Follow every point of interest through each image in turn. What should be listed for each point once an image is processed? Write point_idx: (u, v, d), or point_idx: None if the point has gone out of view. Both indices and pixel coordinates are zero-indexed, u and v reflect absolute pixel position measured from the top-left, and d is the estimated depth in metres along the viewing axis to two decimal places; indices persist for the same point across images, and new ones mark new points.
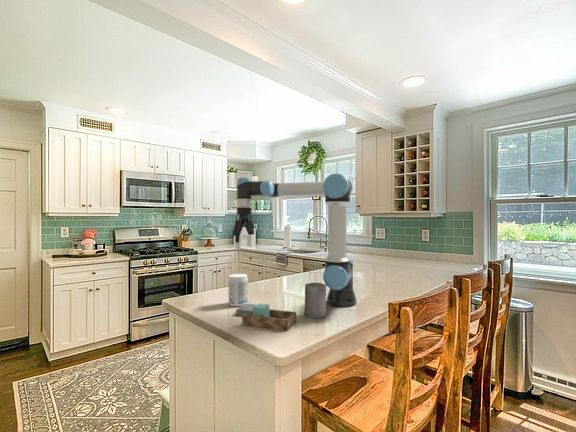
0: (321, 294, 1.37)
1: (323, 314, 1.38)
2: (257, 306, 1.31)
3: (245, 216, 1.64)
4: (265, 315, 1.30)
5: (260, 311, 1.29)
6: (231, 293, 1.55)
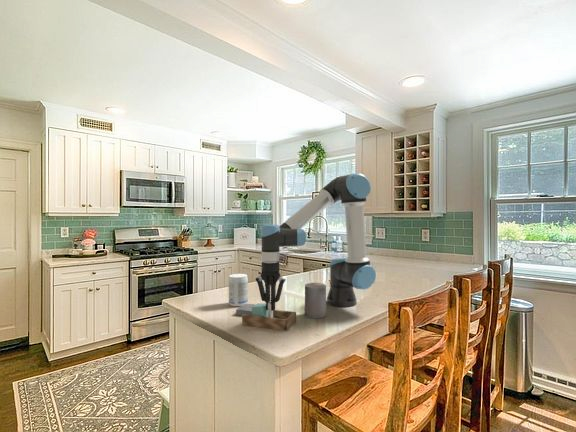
0: (321, 294, 1.37)
1: (323, 314, 1.38)
2: (256, 306, 1.31)
3: (268, 273, 1.30)
4: (264, 314, 1.30)
5: (259, 311, 1.29)
6: (231, 293, 1.55)
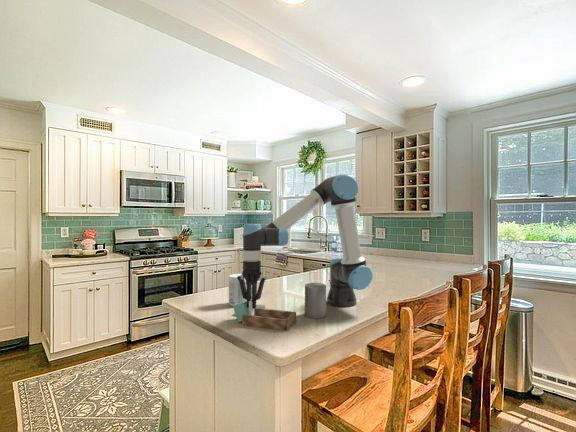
0: (321, 294, 1.37)
1: (323, 314, 1.38)
2: (237, 304, 1.34)
3: (249, 271, 1.32)
4: (246, 310, 1.32)
5: (240, 308, 1.31)
6: (231, 293, 1.55)
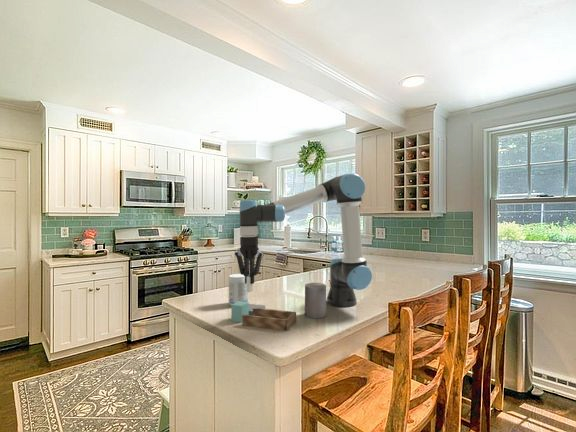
0: (321, 294, 1.37)
1: (323, 314, 1.38)
2: (236, 304, 1.34)
3: (246, 247, 1.33)
4: (243, 313, 1.33)
5: (238, 309, 1.32)
6: (231, 293, 1.55)
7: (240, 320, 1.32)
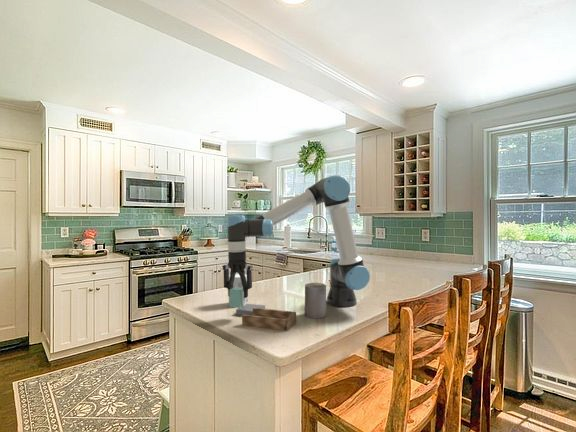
0: (321, 294, 1.37)
1: (323, 314, 1.38)
2: (233, 289, 1.35)
3: (234, 262, 1.35)
4: (241, 298, 1.34)
5: (236, 294, 1.33)
6: None
7: (238, 305, 1.32)
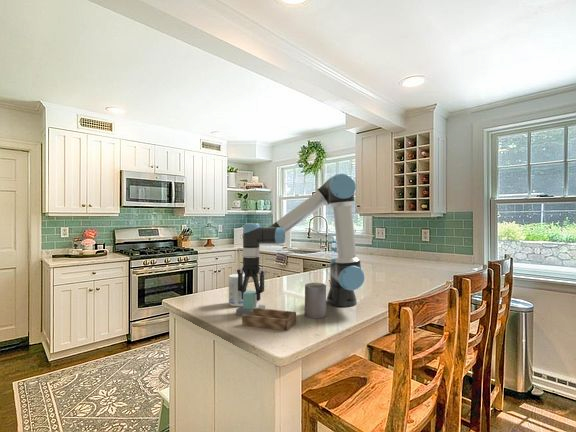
0: (321, 294, 1.37)
1: (323, 314, 1.38)
2: (247, 292, 1.43)
3: (248, 267, 1.44)
4: (254, 301, 1.42)
5: (249, 297, 1.41)
6: (231, 293, 1.55)
7: (251, 307, 1.41)
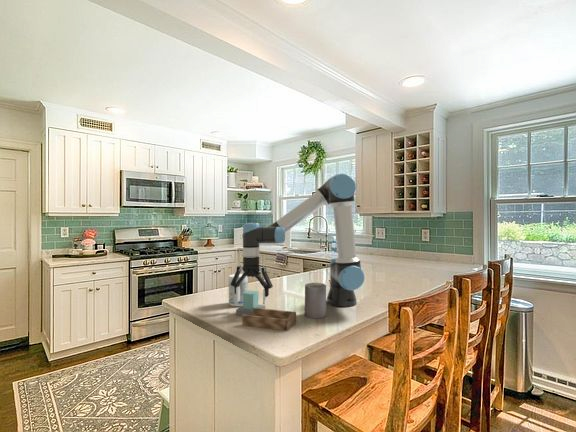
0: (321, 294, 1.37)
1: (323, 314, 1.38)
2: (247, 292, 1.43)
3: (248, 267, 1.44)
4: (254, 301, 1.42)
5: (249, 297, 1.41)
6: (231, 293, 1.55)
7: (251, 307, 1.41)
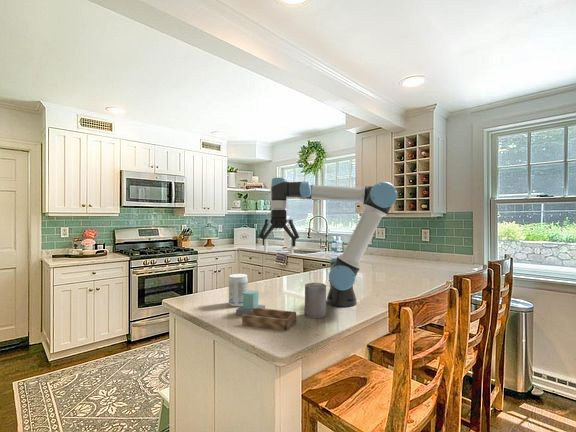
0: (321, 294, 1.37)
1: (323, 314, 1.38)
2: (247, 292, 1.43)
3: (276, 219, 1.53)
4: (254, 301, 1.42)
5: (249, 297, 1.41)
6: (231, 293, 1.55)
7: (251, 307, 1.41)
